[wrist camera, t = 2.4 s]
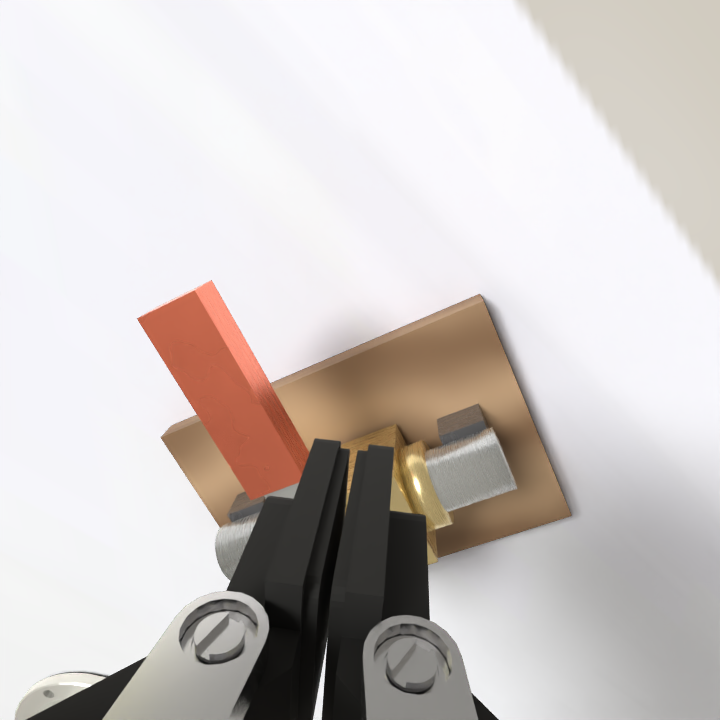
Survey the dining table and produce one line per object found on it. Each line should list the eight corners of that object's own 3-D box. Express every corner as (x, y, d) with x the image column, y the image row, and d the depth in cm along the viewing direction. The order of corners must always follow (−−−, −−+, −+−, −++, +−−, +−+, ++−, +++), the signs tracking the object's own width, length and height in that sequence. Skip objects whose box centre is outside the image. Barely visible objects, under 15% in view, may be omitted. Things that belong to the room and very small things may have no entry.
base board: (564, 500, 32) (571, 515, 30) (279, 591, 36) (274, 609, 35) (479, 293, 28) (483, 300, 26) (171, 425, 32) (160, 437, 31)
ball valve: (511, 466, 29) (545, 565, 22) (268, 550, 33) (228, 659, 26) (478, 388, 28) (502, 467, 21) (226, 485, 32) (172, 581, 24)
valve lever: (392, 590, 23) (390, 633, 21) (336, 607, 24) (329, 651, 22) (216, 277, 19) (191, 292, 17) (153, 309, 20) (121, 326, 17)
